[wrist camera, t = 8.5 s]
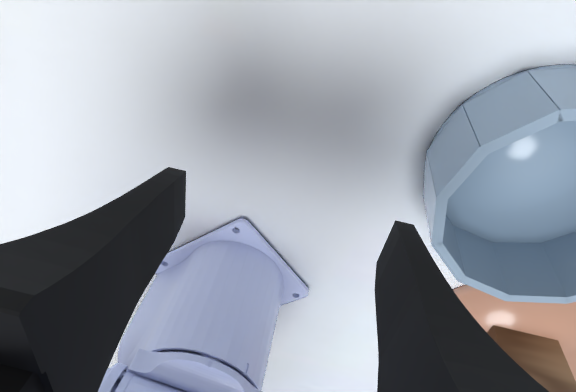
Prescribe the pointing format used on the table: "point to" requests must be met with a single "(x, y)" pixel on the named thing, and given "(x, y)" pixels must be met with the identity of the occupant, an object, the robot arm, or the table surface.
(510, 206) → the bowl
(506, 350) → the walnut block
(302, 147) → the table surface
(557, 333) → the peach round plate
